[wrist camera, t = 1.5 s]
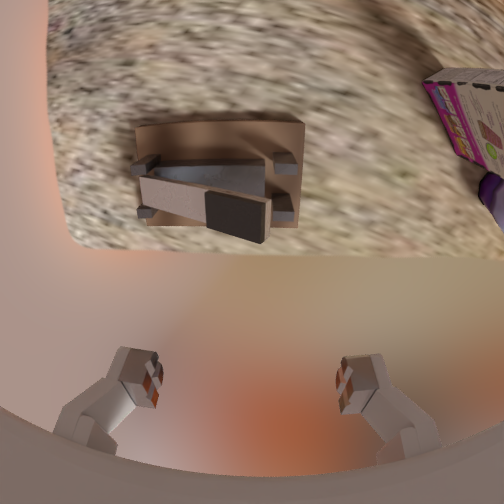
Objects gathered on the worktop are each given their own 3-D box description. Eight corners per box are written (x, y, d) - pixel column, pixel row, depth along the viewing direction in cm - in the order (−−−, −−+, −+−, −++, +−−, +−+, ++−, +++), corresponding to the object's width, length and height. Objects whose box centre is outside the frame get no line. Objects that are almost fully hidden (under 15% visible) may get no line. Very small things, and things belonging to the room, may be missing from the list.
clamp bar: (148, 202, 28) (138, 206, 27) (145, 174, 26) (134, 178, 25) (269, 236, 22) (260, 244, 21) (271, 199, 20) (261, 205, 19)
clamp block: (152, 201, 32) (136, 220, 27) (147, 154, 29) (128, 166, 24) (289, 202, 31) (293, 221, 27) (292, 152, 28) (298, 164, 24)
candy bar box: (478, 138, 27) (565, 182, 13) (455, 155, 29) (542, 208, 15) (444, 64, 23) (543, 73, 9) (419, 80, 24) (518, 92, 10)
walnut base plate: (152, 218, 35) (147, 225, 33) (141, 125, 29) (134, 128, 27) (295, 220, 35) (297, 228, 33) (302, 121, 28) (305, 123, 27)
